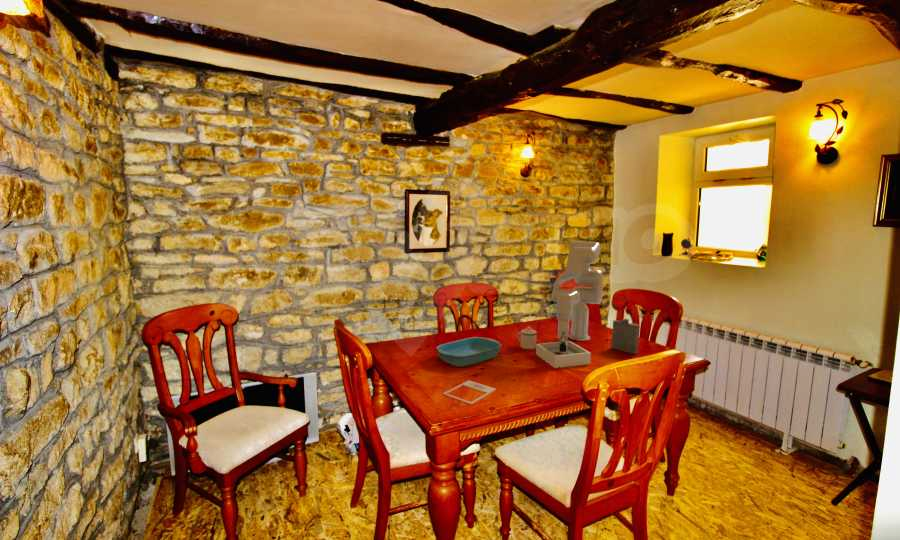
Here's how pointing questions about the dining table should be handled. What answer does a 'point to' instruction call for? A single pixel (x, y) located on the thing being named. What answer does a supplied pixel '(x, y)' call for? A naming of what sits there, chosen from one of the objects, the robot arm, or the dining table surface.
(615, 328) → the flask
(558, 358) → the open top box
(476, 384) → the photo frame
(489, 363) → the dining table surface
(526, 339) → the teacup with lid
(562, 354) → the peg
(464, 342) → the casserole dish
